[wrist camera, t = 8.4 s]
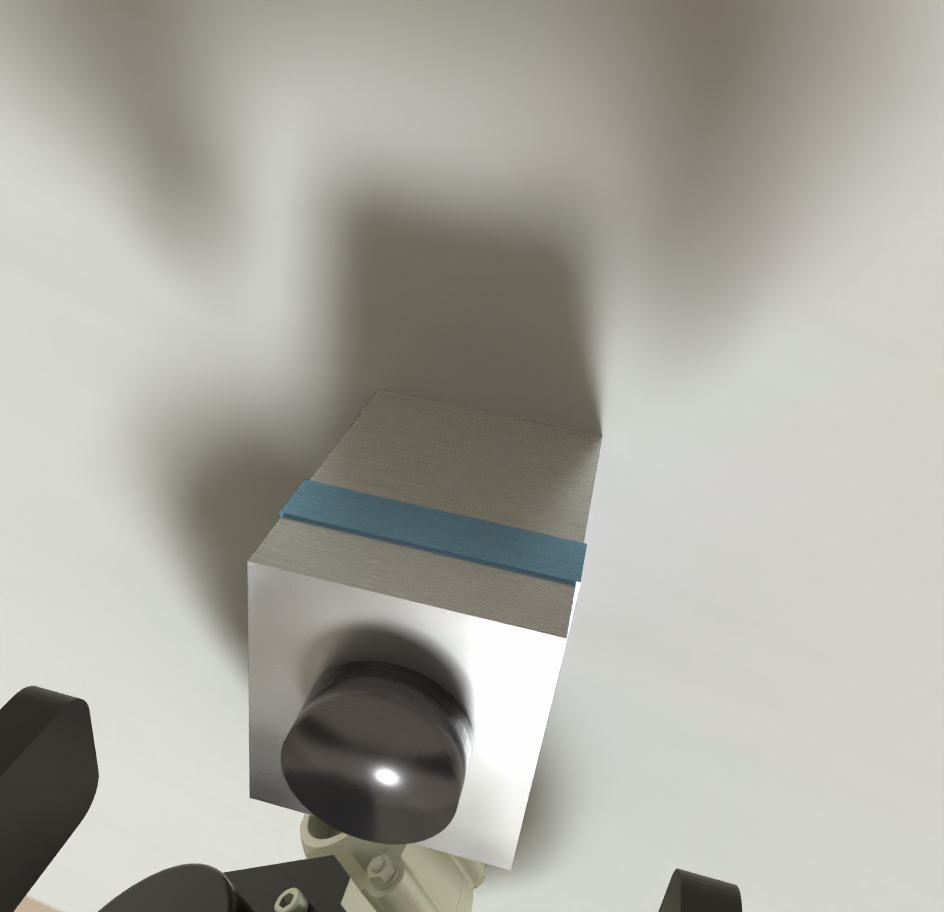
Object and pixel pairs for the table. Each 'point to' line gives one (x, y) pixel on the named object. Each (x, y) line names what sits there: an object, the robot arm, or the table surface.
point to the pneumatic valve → (317, 881)
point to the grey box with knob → (418, 624)
